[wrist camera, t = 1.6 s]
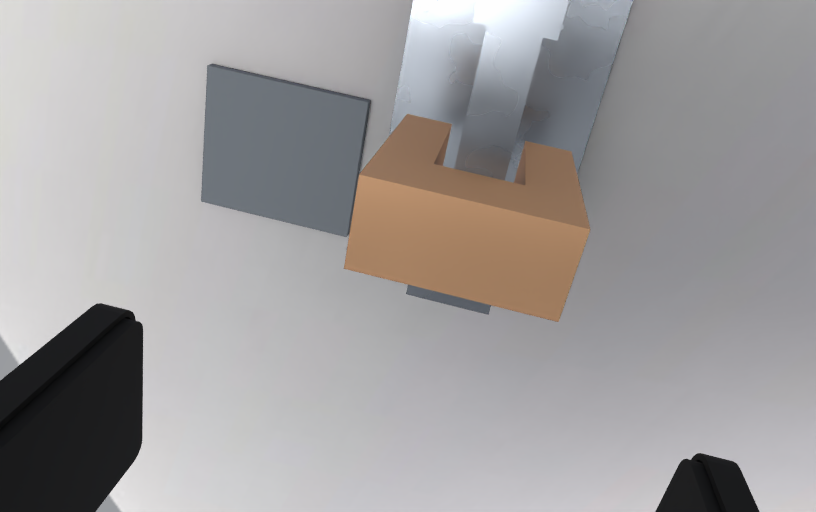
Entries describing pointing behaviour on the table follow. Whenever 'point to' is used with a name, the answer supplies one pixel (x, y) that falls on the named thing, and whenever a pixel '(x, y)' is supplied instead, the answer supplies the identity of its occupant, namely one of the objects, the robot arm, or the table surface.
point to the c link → (469, 223)
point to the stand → (507, 81)
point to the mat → (282, 149)
